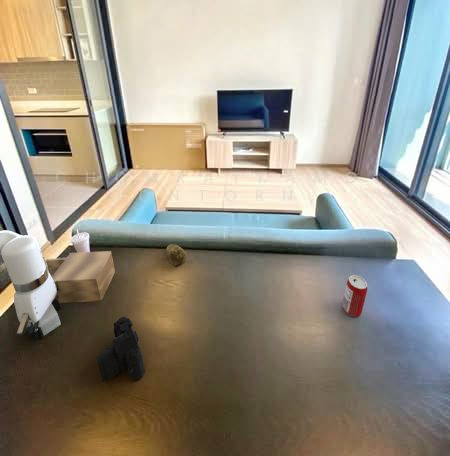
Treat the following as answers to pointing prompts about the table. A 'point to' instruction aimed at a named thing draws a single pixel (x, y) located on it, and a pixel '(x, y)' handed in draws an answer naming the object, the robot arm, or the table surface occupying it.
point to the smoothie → (81, 241)
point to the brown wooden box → (84, 276)
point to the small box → (49, 320)
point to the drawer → (53, 264)
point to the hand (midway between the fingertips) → (46, 323)
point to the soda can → (354, 296)
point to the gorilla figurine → (122, 353)
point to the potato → (176, 255)
